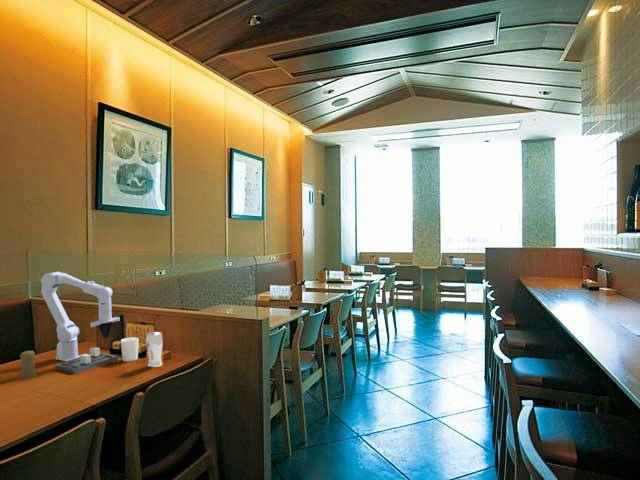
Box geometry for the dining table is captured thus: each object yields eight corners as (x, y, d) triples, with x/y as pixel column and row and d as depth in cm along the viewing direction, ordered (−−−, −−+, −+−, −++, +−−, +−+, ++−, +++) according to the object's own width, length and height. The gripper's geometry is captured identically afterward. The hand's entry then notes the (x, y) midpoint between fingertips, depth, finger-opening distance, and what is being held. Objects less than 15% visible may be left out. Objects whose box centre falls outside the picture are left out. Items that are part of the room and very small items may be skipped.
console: (55, 369, 184) (55, 363, 184) (98, 356, 203) (98, 350, 203) (74, 374, 177) (74, 367, 177) (117, 360, 196) (117, 354, 196)
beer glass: (166, 363, 190) (165, 331, 190) (158, 368, 183) (157, 335, 183) (152, 362, 191) (151, 331, 191) (144, 367, 184) (143, 335, 184)
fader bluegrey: (80, 362, 186) (80, 354, 186) (85, 361, 188) (85, 353, 188) (85, 364, 184) (85, 356, 184) (90, 362, 186) (90, 354, 186)
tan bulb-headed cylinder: (27, 379, 172) (26, 353, 172) (16, 378, 174) (15, 353, 173) (40, 374, 178) (39, 349, 178) (28, 373, 179) (28, 349, 179)
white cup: (134, 361, 193) (133, 341, 193) (118, 362, 193) (117, 341, 193) (141, 356, 201) (141, 337, 201) (126, 357, 201) (125, 337, 201)
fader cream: (90, 355, 197) (89, 348, 197) (94, 354, 199) (94, 346, 199) (95, 356, 195) (94, 348, 195) (99, 355, 197) (99, 347, 197)
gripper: (96, 314, 194) (97, 342, 194) (123, 309, 207) (124, 335, 207) (87, 313, 197) (88, 340, 197) (114, 308, 210) (115, 334, 210)
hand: (106, 338), depth 202 cm, fingers closed
